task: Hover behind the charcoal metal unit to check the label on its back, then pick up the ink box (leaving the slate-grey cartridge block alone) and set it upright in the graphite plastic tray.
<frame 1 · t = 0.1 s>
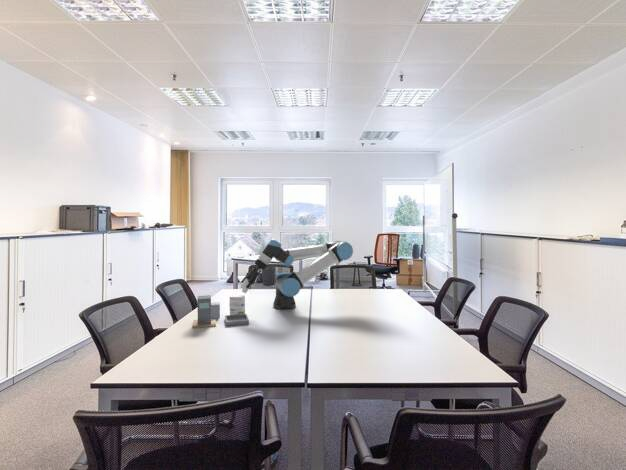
hand: (242, 290, 208), 15 cm above the table, tool tilted 35°, fingers open, 13 cm apart
ink box: (237, 315, 209), on the table
grey cartridge block: (215, 316, 205), on the table
mounted unit: (204, 324, 190), on the table
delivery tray: (236, 321, 194), on the table
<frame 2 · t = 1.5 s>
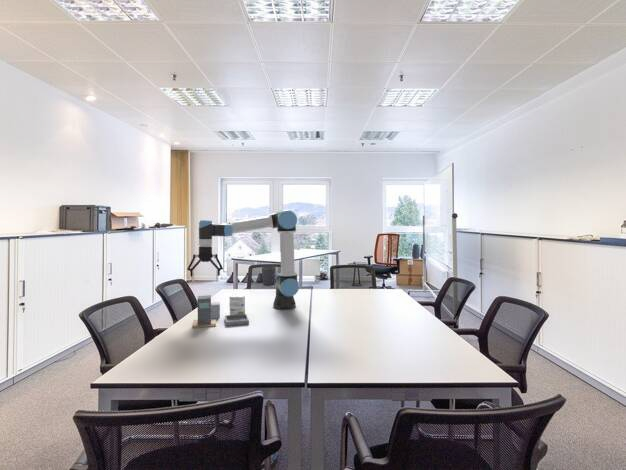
hand: (205, 281, 203), 21 cm above the table, tool pointing down, fingers open, 13 cm apart
nothing on the table moved.
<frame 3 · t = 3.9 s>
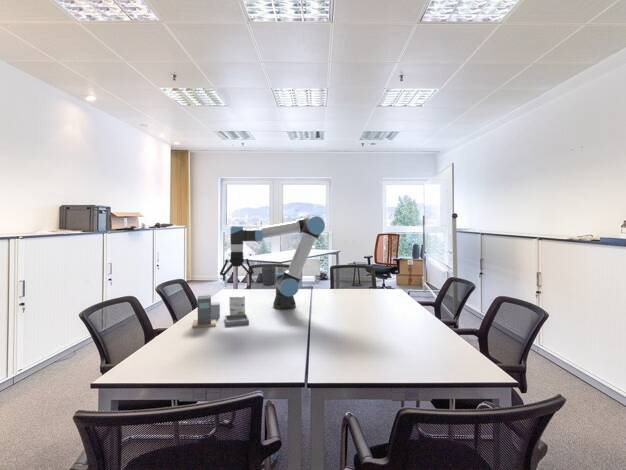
hand: (237, 285, 208), 18 cm above the table, tool pointing down, fingers open, 13 cm apart
nothing on the table moved.
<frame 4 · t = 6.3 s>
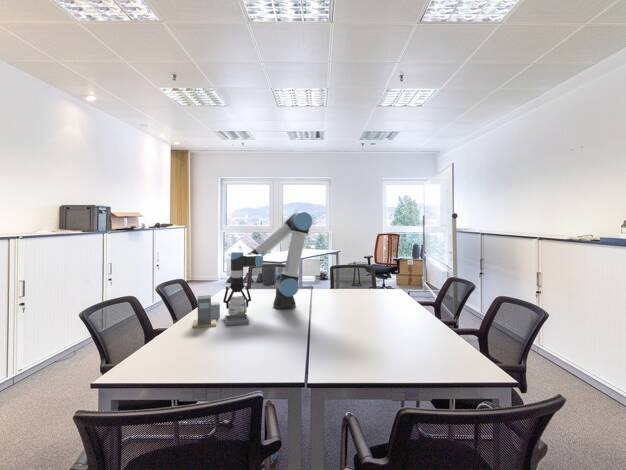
hand: (237, 313, 209), 1 cm above the table, tool pointing down, fingers closed on ink box, 9 cm apart
ink box: (237, 315, 209), on the table, touching gripper
everything else where it was.
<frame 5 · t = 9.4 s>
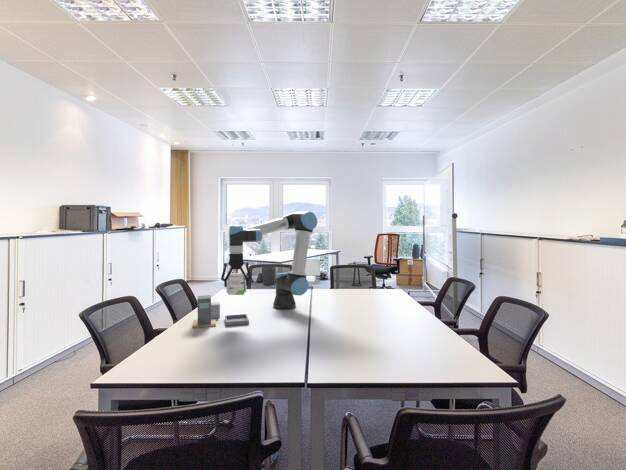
hand: (236, 292, 193), 17 cm above the table, tool pointing down, fingers closed on ink box, 9 cm apart
ink box: (236, 294, 193), point 16 cm above the table, touching gripper
everything else where it was.
when the fingers open (4 cm above the table, at t = 12.7 s): ink box drops 2 cm, resting on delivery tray.
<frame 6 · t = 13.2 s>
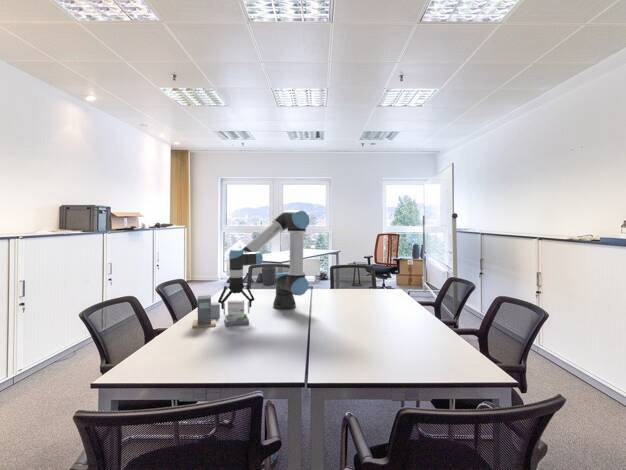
hand: (236, 313, 194), 5 cm above the table, tool pointing down, fingers open, 13 cm apart
ink box: (236, 321, 194), resting on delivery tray
everything else where it was.
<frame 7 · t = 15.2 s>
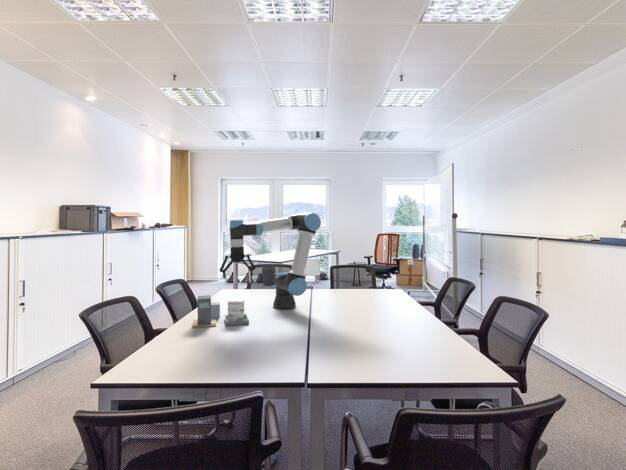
hand: (238, 282, 197), 22 cm above the table, tool pointing down, fingers open, 13 cm apart
nothing on the table moved.
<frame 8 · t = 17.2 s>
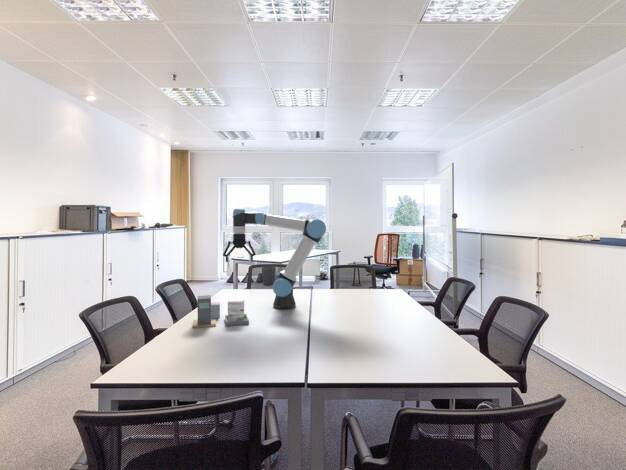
hand: (239, 266, 215), 29 cm above the table, tool pointing down, fingers open, 13 cm apart
nothing on the table moved.
at the end: ink box inside the target area on the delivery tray (0.2 cm from its centre), point 0.4 cm above the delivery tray's base; ink box tilted 0°; grey cartridge block moved 0.1 cm from its start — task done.
